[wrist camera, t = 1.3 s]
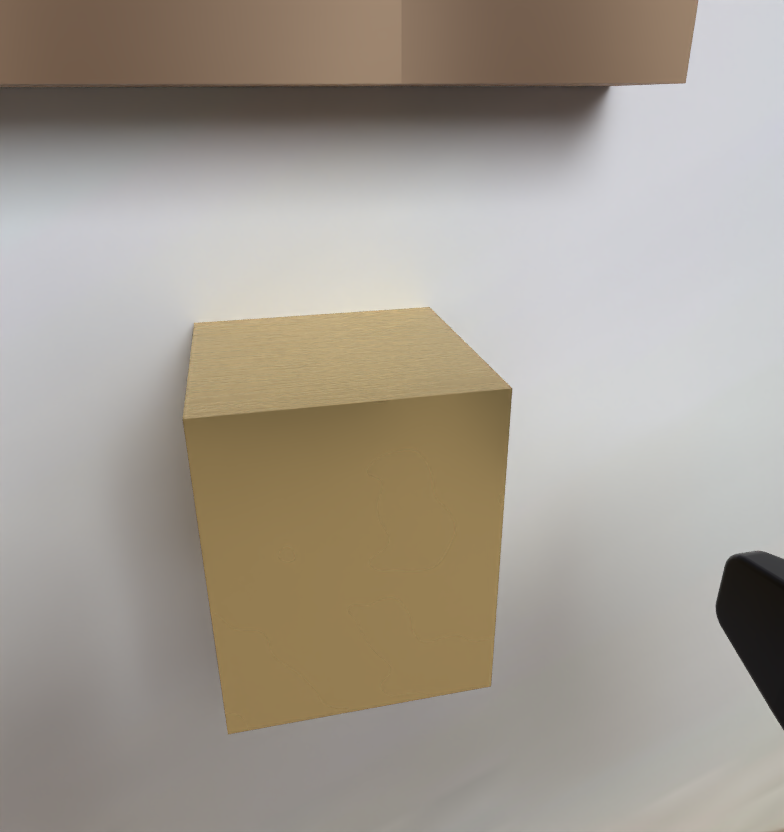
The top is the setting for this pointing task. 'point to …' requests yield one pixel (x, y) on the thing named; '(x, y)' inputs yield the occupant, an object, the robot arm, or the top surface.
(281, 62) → the brown square frame
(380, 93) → the top surface
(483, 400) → the tan wooden block
